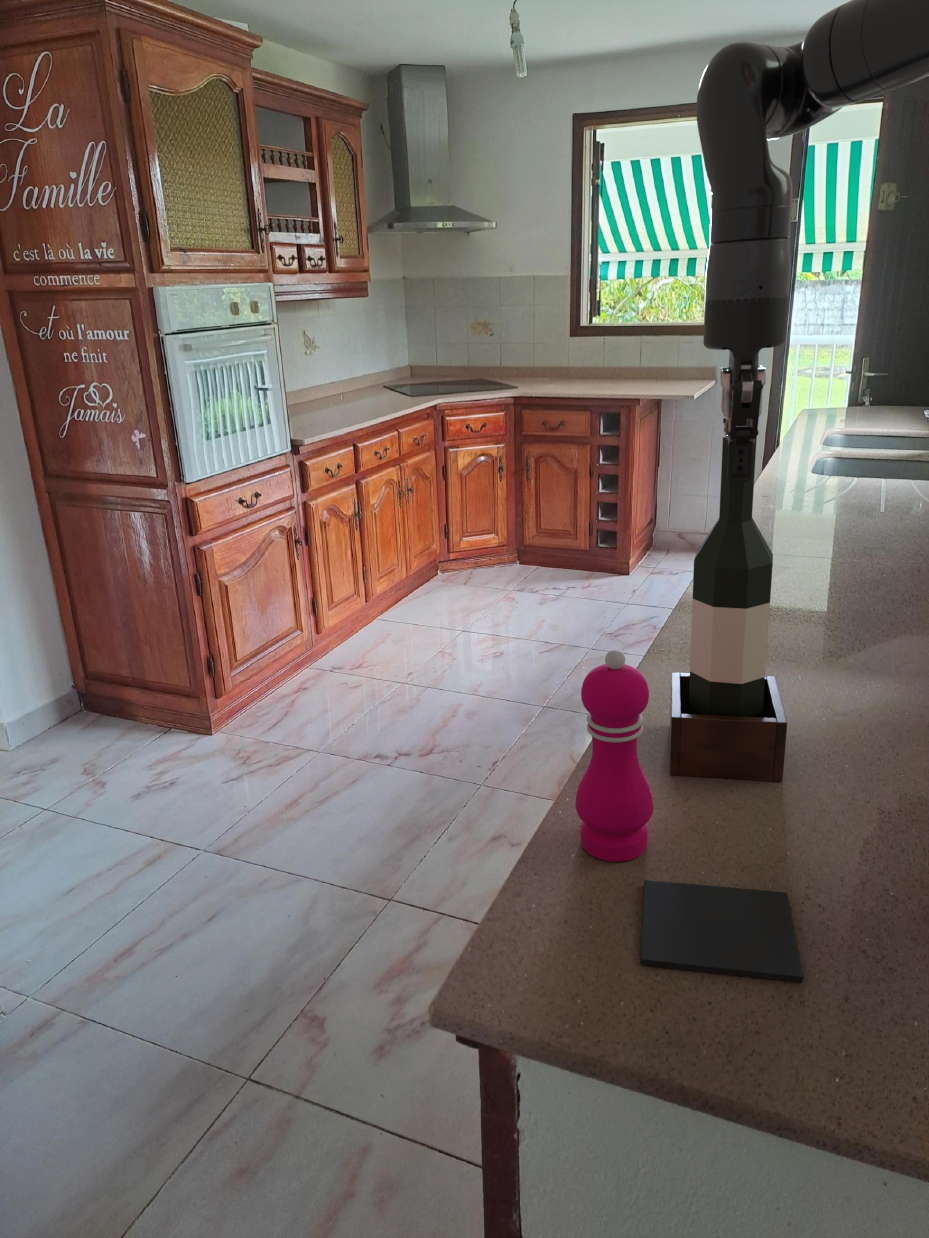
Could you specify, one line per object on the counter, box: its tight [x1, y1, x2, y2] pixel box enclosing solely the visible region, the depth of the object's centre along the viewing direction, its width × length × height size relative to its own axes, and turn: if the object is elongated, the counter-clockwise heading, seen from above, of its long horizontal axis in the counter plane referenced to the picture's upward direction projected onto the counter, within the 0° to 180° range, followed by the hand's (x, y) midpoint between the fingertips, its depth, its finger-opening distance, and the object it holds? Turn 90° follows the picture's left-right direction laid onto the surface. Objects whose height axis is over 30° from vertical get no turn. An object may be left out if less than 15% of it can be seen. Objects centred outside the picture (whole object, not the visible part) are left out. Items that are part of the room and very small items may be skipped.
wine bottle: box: [689, 426, 774, 717], centre depth 92 cm, size 8×8×30 cm
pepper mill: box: [575, 649, 654, 863], centre depth 81 cm, size 7×7×20 cm
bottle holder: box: [669, 672, 788, 783], centre depth 98 cm, size 12×12×7 cm
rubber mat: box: [640, 879, 804, 983], centre depth 72 cm, size 12×10×1 cm
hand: (737, 476), depth 88 cm, fingers closed on wine bottle, 3 cm apart
